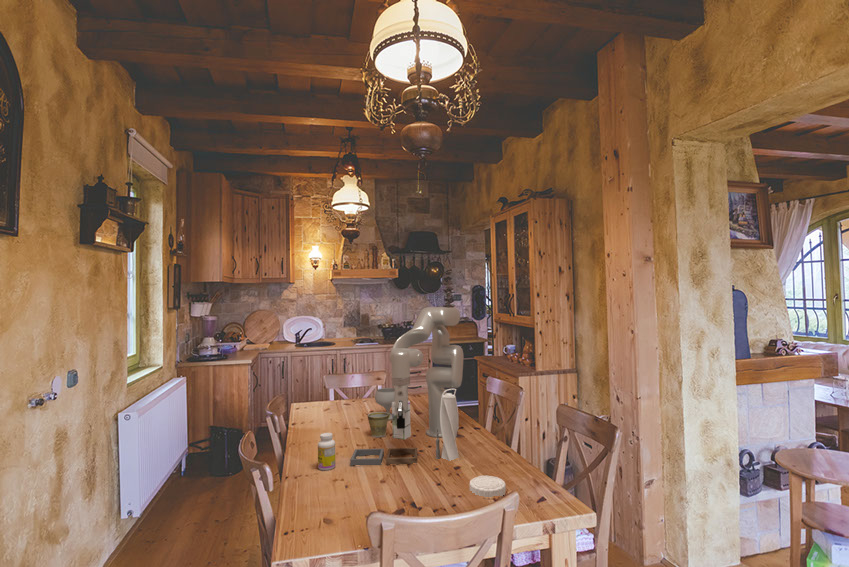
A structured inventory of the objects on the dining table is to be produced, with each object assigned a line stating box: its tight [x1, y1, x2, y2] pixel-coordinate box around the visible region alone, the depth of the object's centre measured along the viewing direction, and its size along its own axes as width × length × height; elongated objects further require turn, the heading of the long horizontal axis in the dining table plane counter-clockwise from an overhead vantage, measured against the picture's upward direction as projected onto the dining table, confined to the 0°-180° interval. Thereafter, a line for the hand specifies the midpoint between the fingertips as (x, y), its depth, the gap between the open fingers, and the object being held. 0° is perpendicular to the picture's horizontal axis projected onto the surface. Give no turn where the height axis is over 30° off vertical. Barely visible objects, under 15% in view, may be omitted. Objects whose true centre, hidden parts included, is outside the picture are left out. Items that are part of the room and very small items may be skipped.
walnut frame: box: [385, 447, 418, 466], centre depth 178 cm, size 12×12×2 cm
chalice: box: [374, 387, 395, 421], centre depth 242 cm, size 14×14×15 cm
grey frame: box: [349, 448, 385, 467], centre depth 178 cm, size 12×12×2 cm
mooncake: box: [468, 474, 507, 498], centre depth 147 cm, size 12×12×4 cm
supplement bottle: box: [317, 432, 336, 471], centre depth 171 cm, size 7×7×13 cm
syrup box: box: [391, 400, 412, 441], centre depth 178 cm, size 6×6×14 cm
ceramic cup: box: [367, 411, 390, 439], centre depth 211 cm, size 13×10×10 cm
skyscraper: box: [435, 388, 460, 461], centre depth 177 cm, size 8×8×28 cm
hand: (401, 425), depth 178 cm, fingers closed on syrup box, 7 cm apart
